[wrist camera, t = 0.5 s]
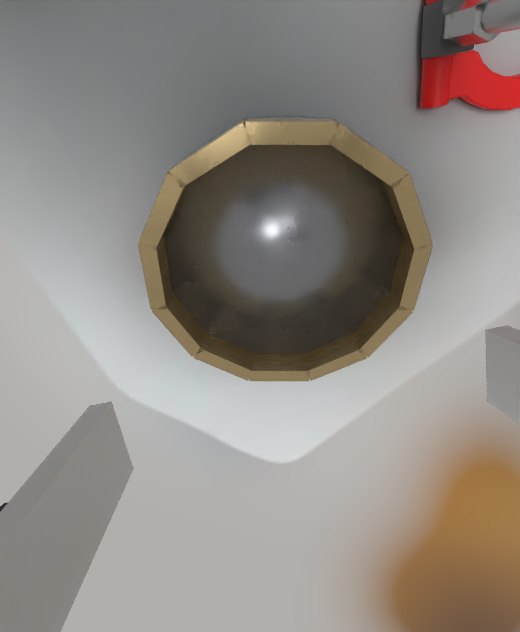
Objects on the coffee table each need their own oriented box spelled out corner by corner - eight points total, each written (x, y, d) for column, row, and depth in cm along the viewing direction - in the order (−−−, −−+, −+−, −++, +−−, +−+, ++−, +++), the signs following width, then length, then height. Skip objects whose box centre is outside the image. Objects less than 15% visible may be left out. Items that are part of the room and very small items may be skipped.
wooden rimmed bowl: (135, 115, 20) (113, 121, 17) (437, 116, 20) (468, 122, 17) (174, 350, 29) (164, 380, 26) (379, 351, 29) (393, 381, 26)
